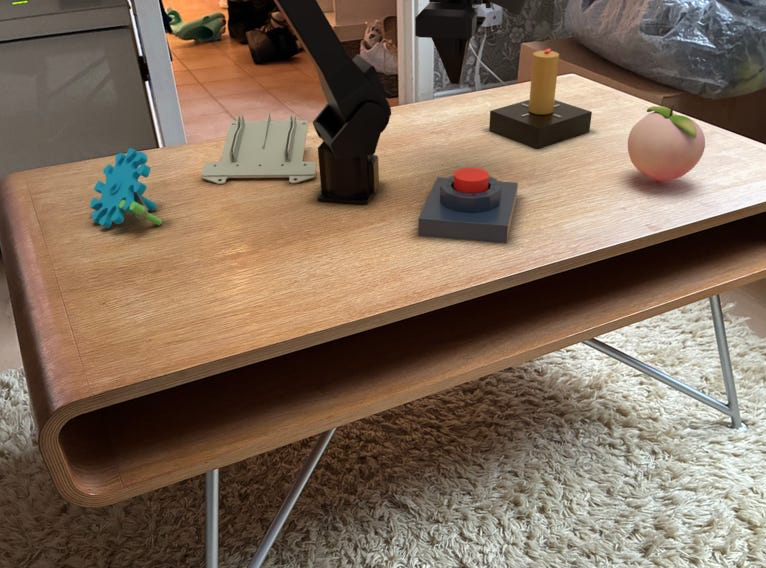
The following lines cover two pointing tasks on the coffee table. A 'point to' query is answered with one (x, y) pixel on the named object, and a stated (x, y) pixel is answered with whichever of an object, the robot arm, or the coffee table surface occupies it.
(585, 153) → the coffee table surface
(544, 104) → the yellow cylinder
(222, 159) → the metal bracket
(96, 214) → the gear
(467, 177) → the release button
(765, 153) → the coffee table surface
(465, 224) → the block
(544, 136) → the dark brown square base
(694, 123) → the decorative fruit
